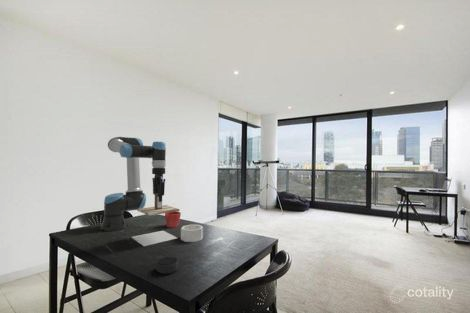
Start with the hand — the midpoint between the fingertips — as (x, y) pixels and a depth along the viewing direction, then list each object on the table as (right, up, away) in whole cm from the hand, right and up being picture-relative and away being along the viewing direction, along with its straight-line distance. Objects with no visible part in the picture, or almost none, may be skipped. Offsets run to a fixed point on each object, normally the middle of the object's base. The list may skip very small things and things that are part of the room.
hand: (158, 206), depth 135 cm
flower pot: (+2, -20, +25) cm, 32 cm away
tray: (-2, -19, 0) cm, 19 cm away
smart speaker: (+17, -18, -39) cm, 47 cm away
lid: (0, -2, 0) cm, 2 cm away
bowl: (+20, -19, -1) cm, 28 cm away
